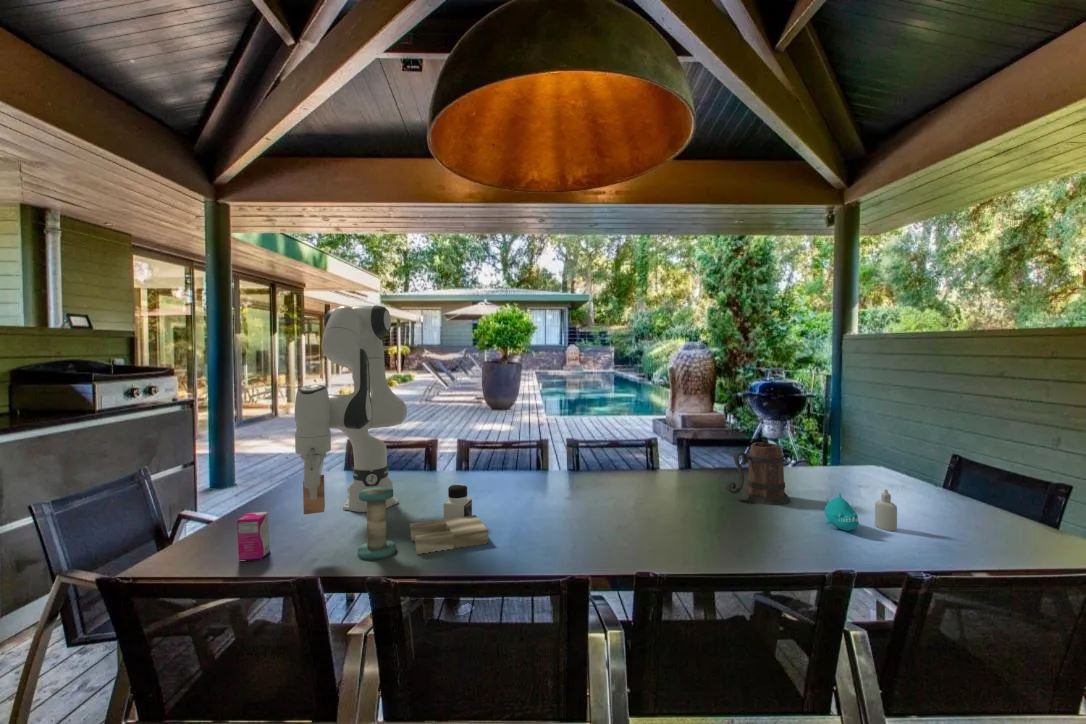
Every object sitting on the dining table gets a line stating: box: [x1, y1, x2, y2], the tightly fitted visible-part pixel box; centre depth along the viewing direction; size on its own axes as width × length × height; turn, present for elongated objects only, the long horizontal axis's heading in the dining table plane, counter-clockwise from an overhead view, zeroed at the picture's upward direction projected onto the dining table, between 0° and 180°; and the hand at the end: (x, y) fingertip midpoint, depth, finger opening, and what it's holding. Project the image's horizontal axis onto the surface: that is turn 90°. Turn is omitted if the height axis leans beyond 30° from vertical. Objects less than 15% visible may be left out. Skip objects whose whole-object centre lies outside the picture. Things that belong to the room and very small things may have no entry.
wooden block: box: [302, 474, 326, 515], centre depth 136 cm, size 5×5×9 cm
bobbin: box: [357, 487, 397, 561], centre depth 138 cm, size 10×10×17 cm
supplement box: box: [236, 511, 271, 561], centre depth 135 cm, size 6×6×12 cm
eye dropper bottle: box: [874, 488, 898, 532], centre depth 153 cm, size 4×6×12 cm
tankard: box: [726, 441, 792, 506], centre depth 185 cm, size 24×17×20 cm
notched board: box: [409, 514, 489, 555], centre depth 146 cm, size 14×20×4 cm
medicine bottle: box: [443, 483, 473, 519], centre depth 162 cm, size 7×7×12 cm
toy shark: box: [824, 491, 860, 532], centre depth 156 cm, size 10×18×11 cm, turn 174°
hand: (314, 495), depth 136 cm, fingers closed on wooden block, 5 cm apart
